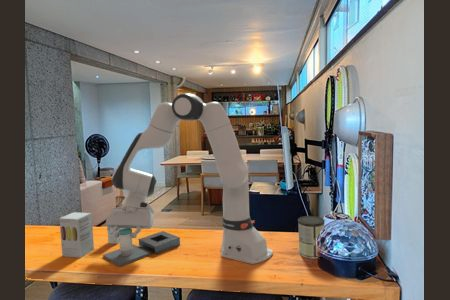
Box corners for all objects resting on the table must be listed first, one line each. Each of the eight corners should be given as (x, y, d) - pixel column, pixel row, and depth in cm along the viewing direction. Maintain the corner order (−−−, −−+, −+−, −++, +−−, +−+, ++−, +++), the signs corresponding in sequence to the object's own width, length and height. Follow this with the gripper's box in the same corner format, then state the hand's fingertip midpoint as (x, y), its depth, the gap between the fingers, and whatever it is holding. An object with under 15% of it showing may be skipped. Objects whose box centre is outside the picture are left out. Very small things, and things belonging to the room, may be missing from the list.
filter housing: (180, 244, 140) (179, 237, 139) (155, 254, 131) (154, 246, 130) (163, 238, 149) (162, 230, 148) (139, 246, 140) (138, 239, 139)
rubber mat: (150, 254, 130) (150, 252, 130) (119, 267, 120) (119, 264, 120) (133, 246, 140) (133, 244, 140) (103, 257, 130) (102, 254, 130)
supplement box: (61, 256, 132) (58, 218, 131) (76, 247, 141) (73, 211, 140) (81, 258, 130) (77, 218, 128) (95, 248, 139) (91, 212, 137)
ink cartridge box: (117, 236, 153) (115, 207, 152) (126, 237, 152) (124, 207, 151) (107, 243, 145) (105, 212, 143) (117, 243, 144) (115, 213, 142)
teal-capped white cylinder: (136, 253, 130) (134, 230, 129) (124, 257, 126) (122, 233, 125) (129, 249, 134) (128, 227, 133) (117, 253, 130) (116, 230, 129)
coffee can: (303, 246, 133) (302, 214, 132) (327, 251, 127) (327, 217, 126) (294, 255, 124) (294, 221, 123) (320, 261, 119) (320, 225, 117)
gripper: (109, 203, 137) (98, 233, 128) (153, 204, 133) (144, 234, 125) (115, 210, 142) (105, 239, 133) (157, 211, 138) (150, 241, 129)
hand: (124, 237), depth 129 cm, fingers open, 6 cm apart
